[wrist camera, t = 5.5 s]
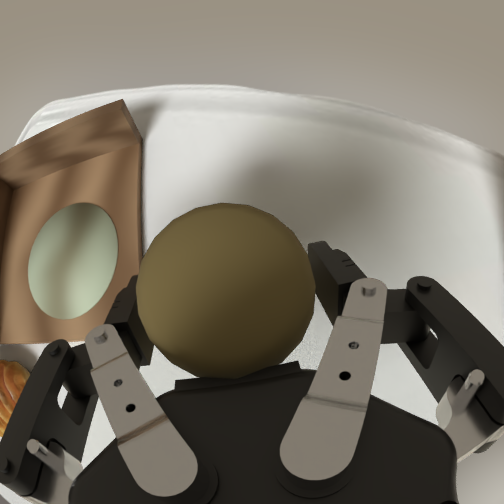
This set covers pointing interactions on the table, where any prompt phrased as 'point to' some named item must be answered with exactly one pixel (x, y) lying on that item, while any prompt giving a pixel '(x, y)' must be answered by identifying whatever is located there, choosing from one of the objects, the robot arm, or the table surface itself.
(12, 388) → the pastry
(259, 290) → the cork
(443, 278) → the table surface
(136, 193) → the corner tray
